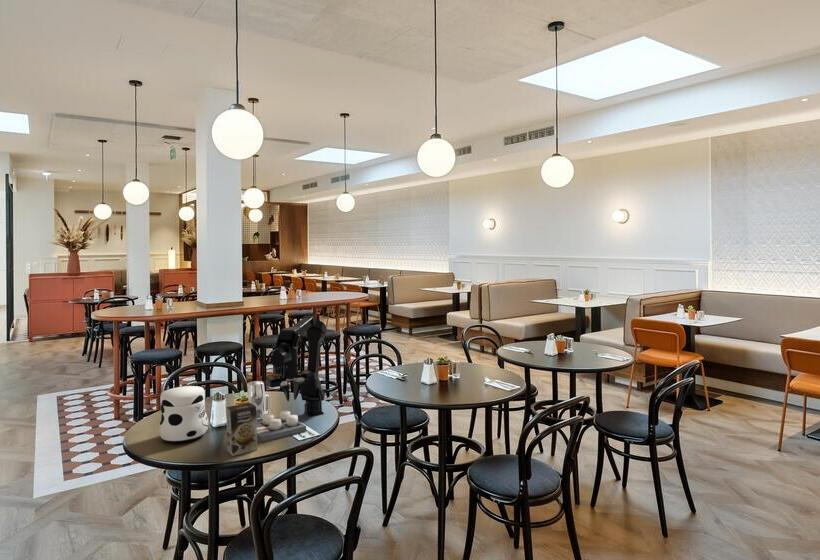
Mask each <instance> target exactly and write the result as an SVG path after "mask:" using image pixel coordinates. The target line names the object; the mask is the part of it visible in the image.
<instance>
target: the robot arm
mask: <svg viewBox="0 0 820 560" xmlns="http://www.w3.org/2000/svg"><path fill="white" fill-rule="evenodd" d="M327 331H328V329H327V325H326V324H325V323H324V322H323V321H321V320H320V319H318V318H316V317H315V316H314V315H309V316H308V315H305V316H303V317H302V318H301V320H299V321H298V322H296V323H295V324H294V325H293V326H290V327H284V328H282V329H281V330H280V332H279V333H278V336H277V340H276V341H275V342H276V343H275V346H274V348H275V349H274V352H273V353H272V354H271V355H270V358H269V361H270V363H271V364H272V365H271V366H272V374H273V376H270V377H266V379H265V382H264V384H265V386H267V387H269V388H271V389H273V388H279V387H280V388H281V390H282V392H283V394H284V397H285V398H286V401H287V402H290V396H291V395H290V384H288V383H289V382H292V384H293V400H295V401H296V400H297V399H298V396H299V393H300V396H301V400H302V401H304V402H305V403H304V405H303V406H304V411H303V413H304V414H305V415H306V416H309V417H310V418H311V417H312V418H313V417H315V416H318V415H319V416H320V415H323V414H324V412H323V408H322V407H323V406H322V405H323V403H322V402H323V401H325V396H326V393H325V391H324V390H323V388H322V383H321V380H320V378H319V368H320V359H321V358H320V356H321V345H322V343H323V341H324V340H325V338H326V333H328V332H327ZM305 333H306V339H308V343H309V344H308V345H309V346H308V359H307V367H306V368H307V370H303V371H301V372H300V373H299V367H300V364H299V363H298V361H299V360H298V348H300V345H299V343H300V342H301V339H302V337H301V336H302V335H303V334H305ZM274 375H275V376H274ZM276 375H277V376H276Z"/></svg>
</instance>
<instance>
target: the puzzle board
mask: <svg viewBox="0 0 820 560" xmlns="http://www.w3.org/2000/svg"><path fill="white" fill-rule="evenodd" d="M274 419H279V416H277V417H274ZM305 431H306V432H307V426H306V424H303V423H302V422H300V421H299V420H298V425H295V426H287V421H281V429H279V430H270V426H269V425H263V420H260V421H259V420H258V421H257V441H259V442H260V443H261V444H262V443H263V444H264V443H267V442H271V441H276V440H279V439H283V438H286V437H291V436H294V434H295V435H298V434H297V433H299V434H301V432H303V433H306V432H305Z"/></svg>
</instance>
